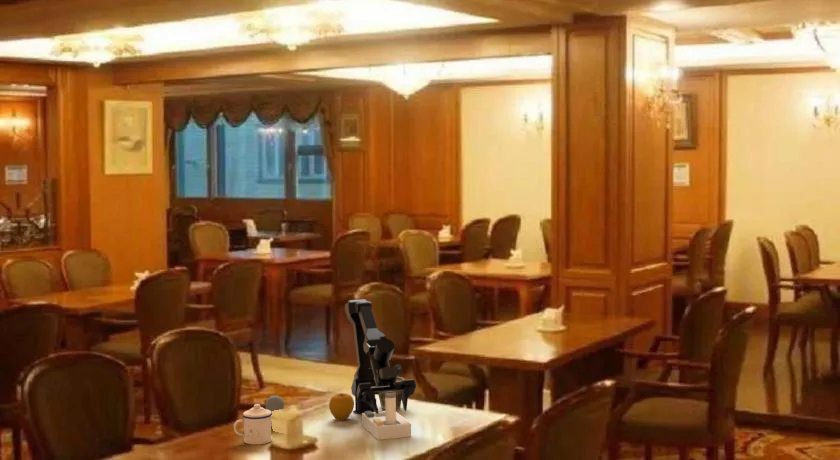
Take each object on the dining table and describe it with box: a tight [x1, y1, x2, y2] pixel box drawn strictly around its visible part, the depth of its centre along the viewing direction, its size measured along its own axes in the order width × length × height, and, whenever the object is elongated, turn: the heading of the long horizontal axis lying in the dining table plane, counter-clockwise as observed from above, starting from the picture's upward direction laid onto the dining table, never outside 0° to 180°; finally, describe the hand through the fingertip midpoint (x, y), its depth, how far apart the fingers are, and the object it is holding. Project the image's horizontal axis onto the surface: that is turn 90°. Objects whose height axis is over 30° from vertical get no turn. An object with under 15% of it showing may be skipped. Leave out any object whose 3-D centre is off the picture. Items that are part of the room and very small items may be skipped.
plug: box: [384, 392, 397, 425], centre depth 350 cm, size 4×4×14 cm
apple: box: [328, 392, 355, 421], centre depth 371 cm, size 8×8×9 cm
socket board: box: [361, 410, 412, 441], centre depth 356 cm, size 19×11×5 cm, turn 17°
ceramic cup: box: [378, 376, 405, 410], centre depth 385 cm, size 13×10×10 cm
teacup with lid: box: [233, 403, 273, 446], centre depth 345 cm, size 12×9×12 cm
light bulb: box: [265, 395, 285, 412], centre depth 364 cm, size 6×6×10 cm
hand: (391, 411), depth 349 cm, fingers open, 9 cm apart
